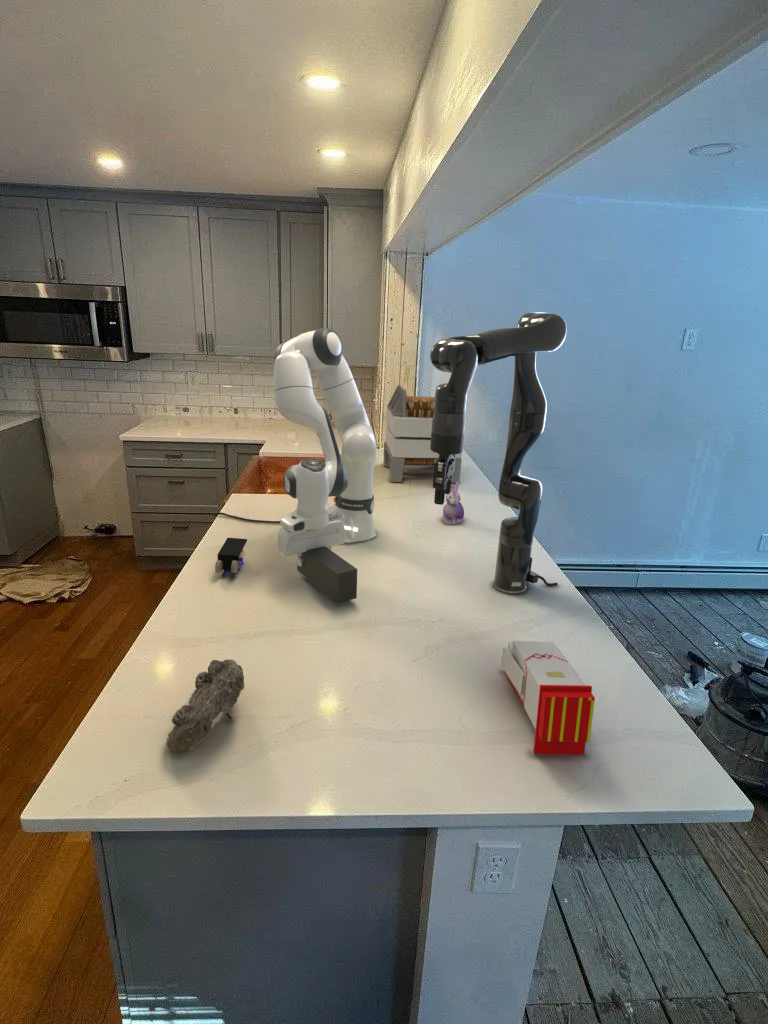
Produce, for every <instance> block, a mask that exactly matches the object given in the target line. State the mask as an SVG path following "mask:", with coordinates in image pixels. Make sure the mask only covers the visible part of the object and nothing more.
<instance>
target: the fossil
mask: <svg viewBox="0 0 768 1024" xmlns="http://www.w3.org/2000/svg"><path fill="white" fill-rule="evenodd" d="M243 670H244V669H243V667H242V665H240V664H237V662H236V661H235V660H234V659H232V658H231V659H227V658H226V659H224V660H223V661H222V660H217V659H212V660H211V661H210V663H209V665H208V666H207V671H201V672H199V673H198V674H197V675H196V676H195V680H194V684H195V685H194V687H195V689H194V690H193V693H192V694H191V697H190V698H189V700H188V704H184V705H182V706H181V707H180V709H177V710H176V711H175V713H174V715H173V716H172V718H171V723H172V724H173V727H172V730H171V731H170V732H168V734H167V738H166V741H167V742H166V745H167V749H168V750H169V751H173V752H174V753H176V754H178V753H182V752H188V751H189V752H192V751H193V750H195V748H196V747H197V746H199V744H200V743H201V742H203V741H204V740H205V739H206V738H207V737H208V736H209V735H210V734H211V733H212V732H214V730H215V729H217V727H218V726H219V724H220V722H221V721H222V720H223V719H224V718H225V716H226V717H227V719H229V720H233V717H232V715H230V714H229V710H230V709H231V708H234V706H235V704H236V703H237V702H238V699H239V697H240V695H241V693H242V691H243V690H245V689H244V688H245V675H244V671H243Z"/></svg>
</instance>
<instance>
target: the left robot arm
mask: <svg viewBox="0 0 768 1024" xmlns="http://www.w3.org/2000/svg"><path fill="white" fill-rule="evenodd" d="M312 372H314V373H315V375H316V380H317V382H318V383H317V384H318V386H319V388H320V389H319V390H320V392H321V394H322V397H323V399H324V401H325V404H326V407H327V409H328V411H327V409H325V408H323V406H321V405H320V404H319V402H318V401H317V399H316V396H315V393H314V385H313V379H312V374H311V373H312ZM273 390H274V400H275V404H276V405H275V406H276V408H277V411H278V413H279V414H280V415H281V416H282V417H283V418H284V419H286V420H288V421H289V422H291V423H293V424H296V425H299V426H302V427H305V428H306V429H307V428H308V429H309V430H311V431H312V432H314V434H316V436H317V438H318V441H319V444H320V447H321V450H322V455H323V457H324V461H323V460H321V459H318V458H305V459H303V460H301V461H300V462H298V464H294V465H290V466H288V468H287V469H286V470H285V471H284V473H283V490H284V492H285V493H286V494H287V495H288V496H289V497H291V498H292V499H294V500H295V499H296V500H297V504H296V505H297V506H296V510H294V511H292V512H290V513H289V514H287V515H285V516H283V517H281V518H280V520H263V519H261V520H260V519H252V518H245V517H241V516H237V515H232V514H228V513H226V512H217V513H215V514H214V517H217V516H220V515H221V516H225V517H229V518H233V519H237V520H241V521H245V522H250V523H251V522H252V523H262V524H280V525H281V526H282V527H281V528H280V529H279V531H278V533H277V534H278V535H277V551H278V552H279V553H280V554H281V556H284V557H288V556H289V557H290V556H293V555H294V557H295V559H296V561H297V560H298V566H300V567H301V566H305V560H304V559H302V558H300V556H301V554H302V553H303V552H306V550H311V549H315V548H320V547H324V546H325V547H327V548H328V549H330V550H331V551H332V547H333V546H334V547H335V546H338V545H342V544H352V543H357V542H365V541H368V540H372V539H373V538H375V537H376V535H377V532H376V528H375V523H374V513H373V512H374V509H375V496H374V476H375V475H374V474H375V473H374V472H375V463H376V452H377V440H376V437H375V434H374V431H373V428H372V425H371V423H370V419H369V416H368V415H367V412H366V409H365V406H364V403H363V400H362V398H361V395H360V392H359V389H358V386H357V384H356V381H355V379H354V376H353V374H352V370H351V368H350V367H349V364H348V362H347V361H346V359H345V357H344V355H343V342H342V340H341V337H340V336H339V334H338V333H337V332H336V331H335V330H333V329H332V328H331V327H321V328H317V329H316V330H311V331H306V332H303V333H300V334H299V335H297V336H295V337H292V338H290V339H288V340H285V341H283V342H282V343H280V344H278V346H277V347H276V349H275V353H274V366H273ZM328 412H329V413H328ZM329 415H330V416H331V418H332V421H333V423H334V425H335V428H336V430H337V432H338V435H339V439H340V442H341V453H340V450H339V445H338V443H337V442H338V441H337V438H336V435H335V431H334V428H333V425H332V422H331V419H330V416H329ZM329 497H333V502H334V504H333V505H331V506H329V502H328V500H329V499H328V498H329Z"/></svg>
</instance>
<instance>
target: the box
mask: <svg viewBox="0 0 768 1024" xmlns="http://www.w3.org/2000/svg"><path fill="white" fill-rule="evenodd" d="M300 558H302V559H304V560H305V566H301V567H300V566H298V560H297V559H296V570H297V572H298V573H300V574H301V575H302V576H303V577H304V578H306V579H307V581H309V582H310V583H311V584H313V585H314V586H315V587H316V588H317V589H319V590H320V591H321V592H322V593H323V594H324V595H326V596H327V597H328V598H329V599H331V600H332V601H333V602H334V603H335V604H337V605H338V604H341V603H345V602H349V601H352V600H354V599H357V597H358V594H357V593H358V568H357V567H355V566H354V565H353V564H351V563H350V562H348V560H345V559H344V558H343V557H341V556H340V555H338V554H337V553H335V552H334V551H333V550H332V549H331V550H330V549H328V548H327V547H325V546H324V547H320V548H315V549H311V550H306V552H303V553H302V554H301V556H300Z"/></svg>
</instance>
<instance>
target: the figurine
mask: <svg viewBox="0 0 768 1024" xmlns="http://www.w3.org/2000/svg"><path fill="white" fill-rule="evenodd" d="M459 487H460V482H456V483H454V485H451V491H450V494H445V501H446V504H445V505H444V506H443V508H442V517H441V520H442V521H443V522H444V524H447V525H456V524H461V523H462V522H463V521H464V516H465V509H464V506H463V504H462V503H461V502H460V501H461V499H462V497H461V495H460V493H459Z"/></svg>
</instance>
